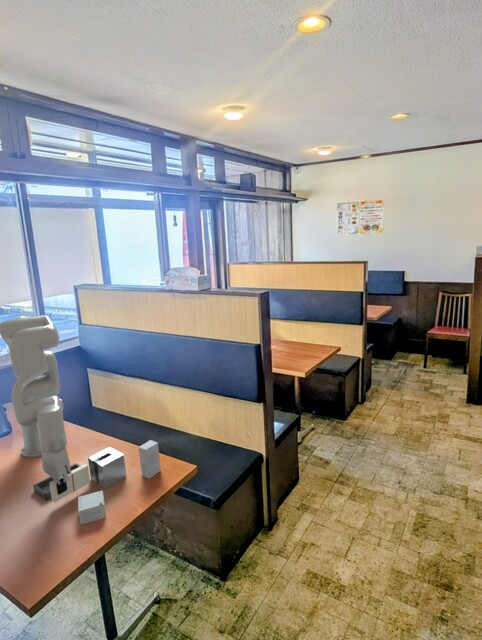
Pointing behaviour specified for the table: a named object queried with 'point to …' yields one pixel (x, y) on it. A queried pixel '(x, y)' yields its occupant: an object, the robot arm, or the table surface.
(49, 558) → the table surface
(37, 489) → the stub tray
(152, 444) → the skincare box
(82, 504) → the small box
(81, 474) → the ticket
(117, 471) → the ticket dispenser
